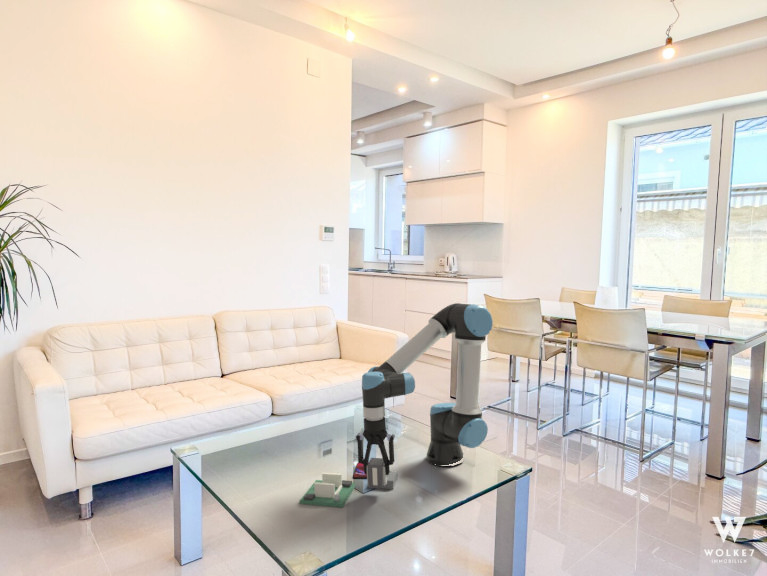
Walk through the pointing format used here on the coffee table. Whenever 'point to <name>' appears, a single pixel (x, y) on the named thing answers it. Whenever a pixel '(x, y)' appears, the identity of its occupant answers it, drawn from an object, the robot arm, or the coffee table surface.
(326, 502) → the board
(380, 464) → the plug
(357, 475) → the smartphone
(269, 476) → the coffee table surface
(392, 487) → the grey button box
